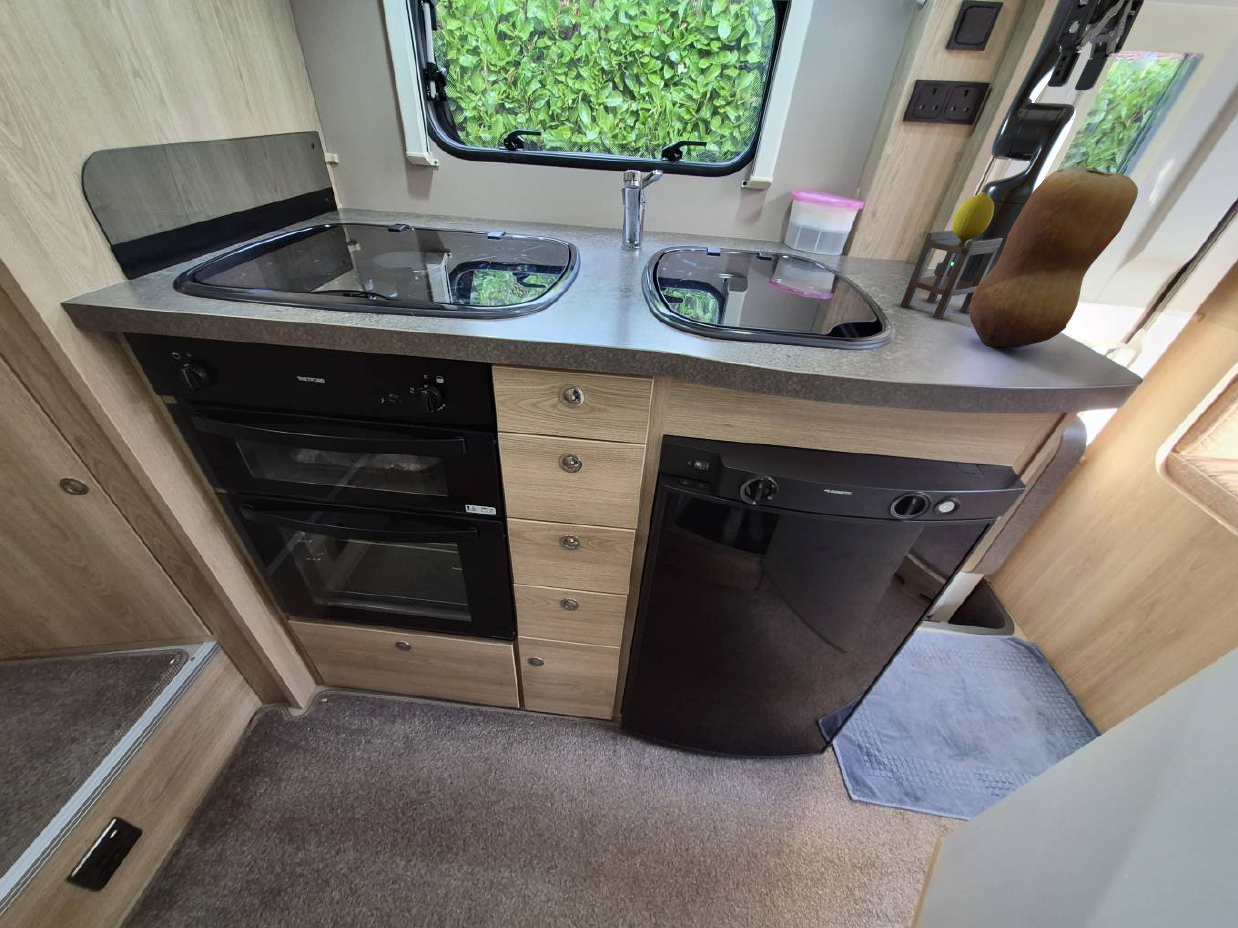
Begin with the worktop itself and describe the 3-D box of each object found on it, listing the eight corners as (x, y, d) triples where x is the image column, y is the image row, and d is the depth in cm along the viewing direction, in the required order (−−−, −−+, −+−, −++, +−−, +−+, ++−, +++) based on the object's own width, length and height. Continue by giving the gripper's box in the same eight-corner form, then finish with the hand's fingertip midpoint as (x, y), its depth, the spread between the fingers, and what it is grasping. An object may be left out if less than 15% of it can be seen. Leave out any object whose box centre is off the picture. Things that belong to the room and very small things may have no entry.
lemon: (941, 241, 88) (961, 191, 83) (950, 238, 91) (970, 189, 86) (975, 247, 85) (998, 195, 80) (983, 243, 88) (1006, 193, 83)
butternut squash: (1050, 369, 73) (1167, 176, 58) (950, 346, 79) (1033, 165, 64) (1045, 342, 83) (1145, 170, 68) (956, 323, 88) (1030, 161, 74)
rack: (899, 306, 96) (927, 232, 88) (929, 300, 100) (959, 229, 92) (938, 319, 90) (972, 242, 82) (968, 312, 94) (1003, 238, 87)
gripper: (1130, -53, 68) (1063, 92, 78) (1084, -75, 62) (1017, 85, 72) (1201, -65, 63) (1120, 92, 73) (1158, -90, 57) (1076, 85, 67)
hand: (1069, 88), depth 72 cm, fingers open, 8 cm apart
